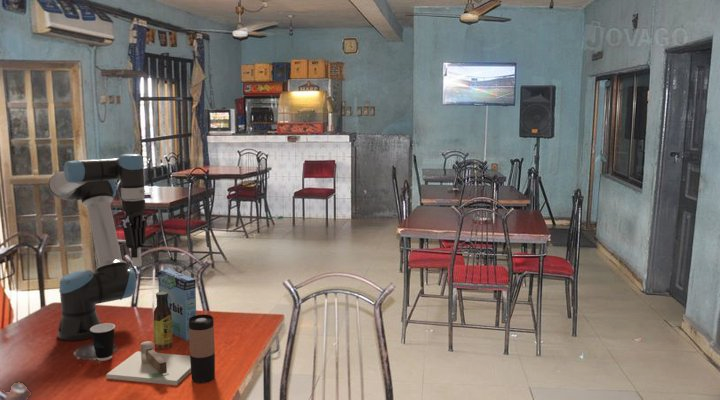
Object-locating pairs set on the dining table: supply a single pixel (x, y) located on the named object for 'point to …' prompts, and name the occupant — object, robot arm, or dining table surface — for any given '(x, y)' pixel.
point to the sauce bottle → (162, 322)
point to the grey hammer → (152, 357)
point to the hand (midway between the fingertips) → (137, 265)
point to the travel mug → (202, 348)
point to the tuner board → (152, 370)
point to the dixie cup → (103, 340)
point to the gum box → (179, 299)
